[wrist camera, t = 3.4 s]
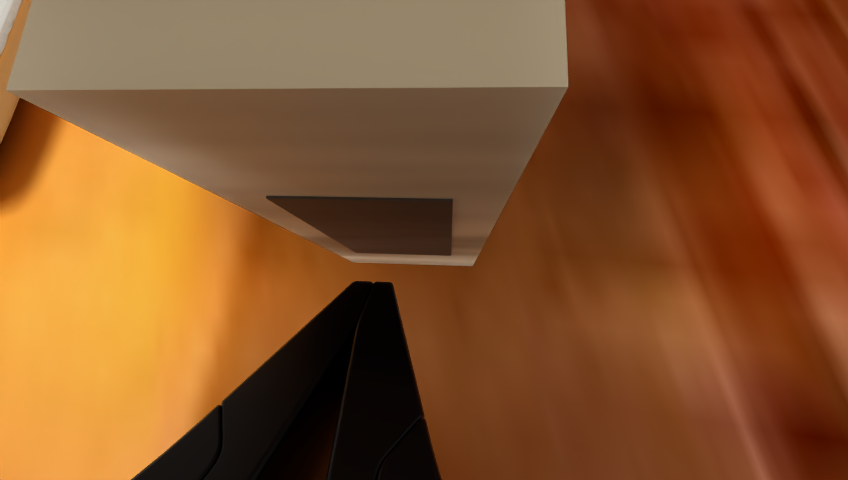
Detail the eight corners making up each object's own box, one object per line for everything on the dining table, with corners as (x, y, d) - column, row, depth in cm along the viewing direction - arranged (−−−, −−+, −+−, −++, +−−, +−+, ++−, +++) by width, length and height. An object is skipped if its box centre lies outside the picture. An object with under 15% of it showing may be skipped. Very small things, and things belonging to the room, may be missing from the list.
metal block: (472, 267, 15) (568, 92, 3) (353, 263, 15) (4, 95, 3) (474, 152, 16) (550, -333, 4) (362, 151, 16) (117, -292, 4)
